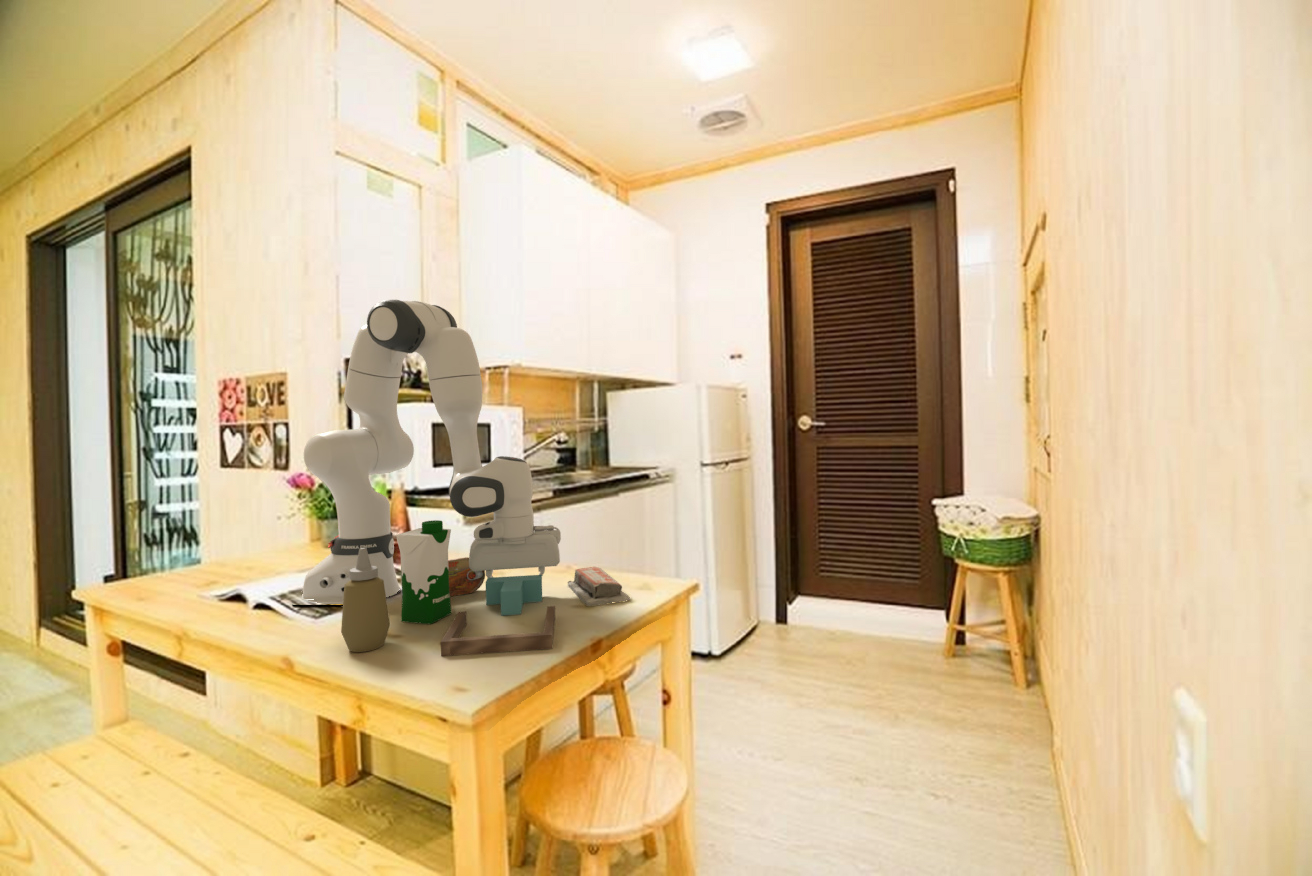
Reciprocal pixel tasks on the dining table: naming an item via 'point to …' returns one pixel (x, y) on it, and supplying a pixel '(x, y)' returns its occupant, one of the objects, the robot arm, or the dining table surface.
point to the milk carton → (425, 573)
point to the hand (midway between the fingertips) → (516, 587)
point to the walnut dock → (495, 638)
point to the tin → (463, 577)
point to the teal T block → (513, 592)
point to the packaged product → (596, 587)
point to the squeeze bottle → (364, 607)
